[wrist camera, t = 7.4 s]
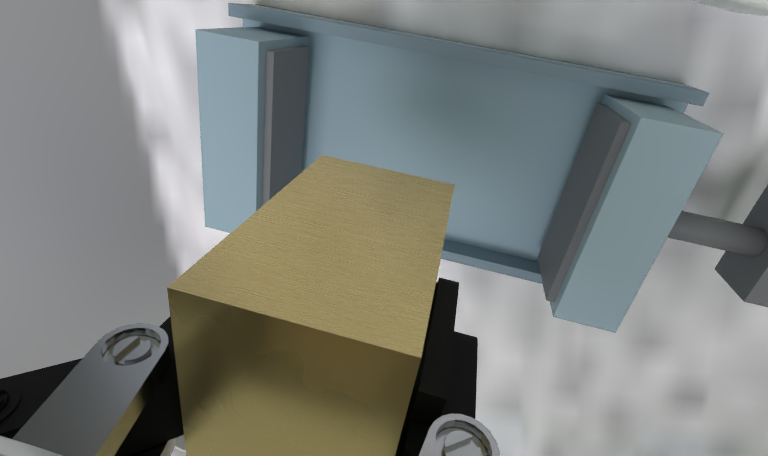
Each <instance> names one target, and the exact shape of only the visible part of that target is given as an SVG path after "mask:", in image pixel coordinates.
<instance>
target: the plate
mask: <svg viewBox="0 0 768 456" xmlns="http://www.w3.org/2000/svg"><path fill="white" fill-rule="evenodd" d="M694 1H697V2H699V3H702V4H705V5H709V6H713V7H717V8H720V9H724V10H728V11H732V12H739V13H746V14H753V15H760V16H768V0H694Z"/></svg>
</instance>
